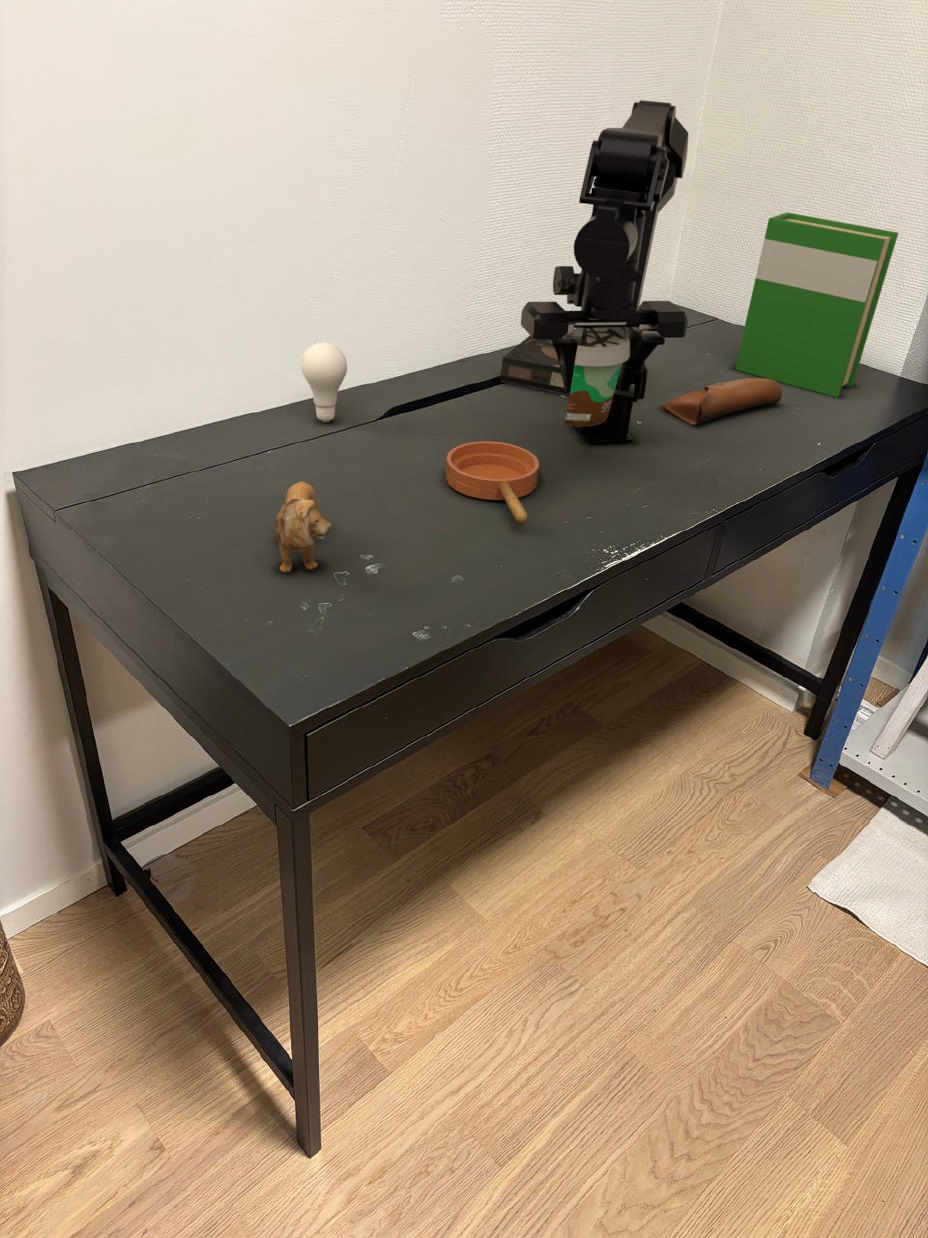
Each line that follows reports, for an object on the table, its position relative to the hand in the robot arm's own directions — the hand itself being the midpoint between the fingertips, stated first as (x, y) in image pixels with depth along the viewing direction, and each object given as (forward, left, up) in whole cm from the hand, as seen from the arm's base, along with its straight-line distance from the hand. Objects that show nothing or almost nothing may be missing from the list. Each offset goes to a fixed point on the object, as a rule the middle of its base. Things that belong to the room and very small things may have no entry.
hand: (594, 390), depth 114 cm
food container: (0, 0, -3) cm, 3 cm away
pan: (+12, 0, -12) cm, 17 cm away
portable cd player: (-9, -36, -12) cm, 39 cm away
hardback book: (-48, -33, -12) cm, 60 cm away
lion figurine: (+36, +15, -12) cm, 41 cm away
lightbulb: (+31, -21, -12) cm, 39 cm away
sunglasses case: (-29, -21, -12) cm, 38 cm away
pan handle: (+12, +9, -10) cm, 18 cm away
